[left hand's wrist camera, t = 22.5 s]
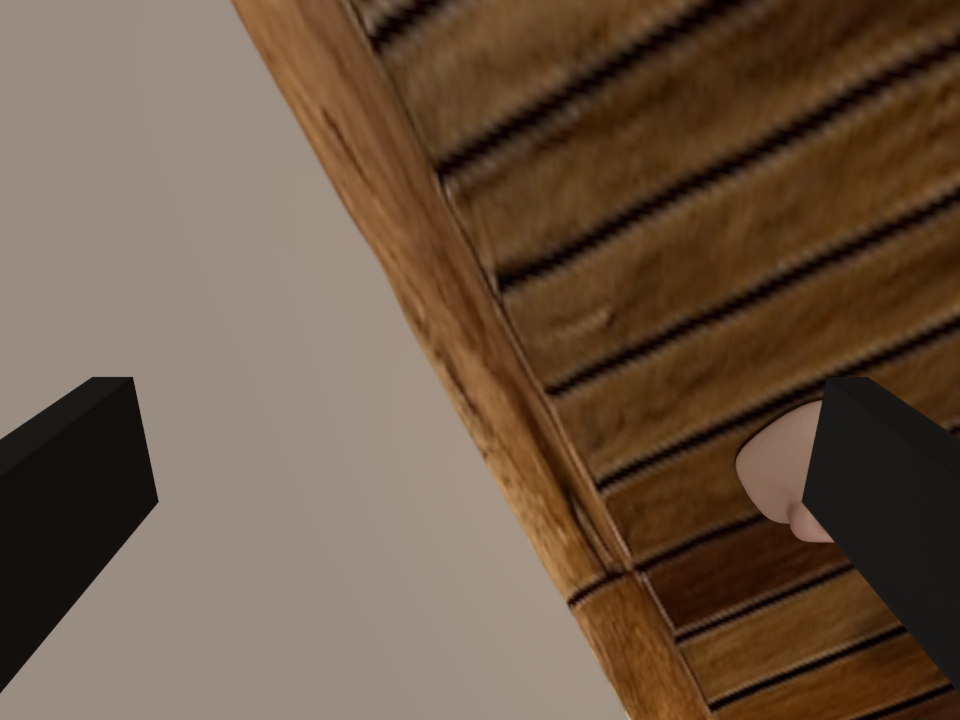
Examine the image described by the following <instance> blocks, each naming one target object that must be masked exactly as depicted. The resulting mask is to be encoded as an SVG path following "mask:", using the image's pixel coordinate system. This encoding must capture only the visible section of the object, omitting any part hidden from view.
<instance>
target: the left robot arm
mask: <svg viewBox="0 0 960 720" xmlns="http://www.w3.org/2000/svg"><path fill="white" fill-rule="evenodd" d="M158 502H159V501H158V497H157V492H156V487H155V482H154V477H153V472H152V467H151V463H150V458H149V453H148V448H147V443H146V438H145V433H144V429H143V424H142V419H141V414H140V409H139V404H138V400H137V395H136V390H135V385H134V380H133V377H92V378H90V379H89V380H87V381H86V382H84V383H83V384H81V385H80V386H78V387H77V388H75V389H74V390H73V391H71V392H70V393H68V394H67V395H65V396H64V397H62V398H61V399H59V400H58V401H56V402H55V403H53V404H52V405H51V406H49V407H48V408H46V409H45V410H43V411H42V412H40V413H39V414H37V415H36V416H34V417H33V418H31V419H30V420H28V421H27V422H26V423H24V424H23V425H21V426H20V427H18V428H17V429H15V430H14V431H12V432H11V433H9V434H8V435H6V436H5V437H3V438H2V439H1V440H0V693H1V692H2V691H3V689H4V688H5V687H6V686H7V685H8V683H9V682H10V681H11V680H12V679H13V677H14V676H15V675H16V674H17V673H18V671H19V670H20V669H21V668H22V666H23V665H24V664H25V663H26V662H27V660H28V659H29V658H30V657H31V656H32V654H33V653H34V652H35V651H36V650H37V648H38V647H39V646H40V645H41V644H42V642H43V641H44V640H45V639H46V637H47V636H48V635H49V634H50V633H51V631H52V630H53V629H54V628H55V627H56V625H57V624H58V623H59V622H60V621H61V619H62V618H63V617H64V616H65V615H66V613H67V612H68V611H69V610H70V608H71V607H72V606H73V605H74V604H75V602H76V601H77V600H78V599H79V598H80V596H81V595H82V594H83V593H84V592H85V590H86V589H87V588H88V587H89V585H90V584H91V583H92V582H93V581H94V579H95V578H96V577H97V576H98V575H99V573H100V572H101V571H102V570H103V569H104V567H105V566H106V565H107V564H108V563H109V561H110V560H111V559H112V558H113V556H114V555H115V554H116V553H117V552H118V550H119V549H120V548H121V547H122V546H123V544H124V543H125V542H126V541H127V539H128V538H129V537H130V536H131V535H132V533H133V532H134V531H135V530H136V529H137V527H138V526H139V525H140V524H141V523H142V521H143V520H144V519H145V518H146V517H147V515H148V514H149V513H150V512H151V510H152V509H153V508H154V507H155V506H156V505H157V503H158ZM801 502H802V503H803V505H804V506H805V507H806V508H807V509H808V511H809V512H810V513H811V514H812V515H813V517H814V518H815V519H816V520H817V521H818V523H819V524H820V525H821V526H822V527H823V529H824V530H825V531H826V532H827V534H828V535H829V536H830V537H831V538H832V540H833V541H834V542H835V543H836V544H837V546H838V547H839V548H840V549H841V550H842V552H843V553H844V554H845V555H846V556H847V558H848V559H849V560H850V561H851V563H852V564H853V565H854V566H855V567H856V569H857V570H858V571H859V572H860V573H861V575H862V576H863V577H864V578H865V579H866V581H867V582H868V583H869V584H870V585H871V587H872V588H873V589H874V590H875V592H876V593H877V594H878V595H879V596H880V598H881V599H882V600H883V601H884V602H885V604H886V605H887V606H888V607H889V608H890V610H891V611H892V612H893V613H894V615H895V616H896V617H897V618H898V619H899V621H900V622H901V623H902V624H903V625H904V627H905V628H906V629H907V630H908V631H909V633H910V634H911V635H912V636H913V637H914V639H915V640H916V641H917V642H918V644H919V645H920V646H921V647H922V648H923V650H924V651H925V652H926V653H927V654H928V656H929V657H930V658H931V659H932V660H933V662H934V663H935V664H936V665H937V666H938V668H939V669H940V670H941V671H942V673H943V674H944V675H945V676H946V677H947V679H948V680H949V681H950V682H951V683H952V685H953V686H954V687H955V688H956V689H957V691H958V692H959V693H960V439H958V438H957V437H955V436H954V435H952V434H951V433H949V432H948V431H946V430H945V429H943V428H942V427H940V426H939V425H937V424H936V423H935V422H933V421H932V420H930V419H929V418H927V417H926V416H924V415H923V414H921V413H920V412H918V411H917V410H915V409H914V408H912V407H911V406H910V405H908V404H907V403H905V402H904V401H902V400H901V399H899V398H898V397H896V396H895V395H893V394H892V393H890V392H889V391H887V390H886V389H885V388H883V387H882V386H880V385H879V384H877V383H876V382H874V381H873V380H871V379H870V378H868V377H827V380H826V385H825V390H824V395H823V399H822V404H821V409H820V414H819V419H818V424H817V429H816V433H815V438H814V443H813V448H812V453H811V458H810V463H809V467H808V472H807V477H806V482H805V487H804V492H803V497H802V501H801Z"/></svg>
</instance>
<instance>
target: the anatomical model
mask: <svg viewBox="0 0 960 720" xmlns="http://www.w3.org/2000/svg"><path fill="white" fill-rule="evenodd" d="M821 404H822V400H820V401H816V402H812V403H809V404H806V405H803V406H801V407H799V408H797V409H795V410H793V411H790V412H789V413H787V414H785V415H784V416H782V417H780V418H779V419H777V420H776V421H774V422H773V423H772V424H770V425H769V426H767V427H766V428H765V429H763V430H762V431H761V432H760V433H758V434H757V435H756V436H755V437H754V438H753V439H751V440H750V441H749V442H748V443H747V444H746V445H745V446H744V447H743V448H742V450H741V451H740V453H739V454H738V456H737V459H736V470H737V473H738V476H739V479H740V481H741V483H742V484H743V486H744V488H745V490H746V492H747V493H748V495H749V497H750V498H751V500H752V501H753V503H754V504H755V505H756V506H757V507H758V508H759V510H760V511H761V512H762V513H763V514H764V515H765V516H766V517H768V518H769V519H771V520H773V521H776V522H779V523H787V524H790V527H791V530H792V532H793V533H794V535H795V536H796V537H797V538H799V539H800V540H803V541H807V542H834V541H833V540H832V538H831V537H830V536H829V535H828V534H827V532H826V531H825V530H824V529H823V527H822V526H821V525H820V524H819V523H818V521H817V520H816V519H815V518H814V517H813V515H812V514H811V513H810V512H809V511H808V509H807V508H806V507H805V506H804V505H803V503H802V502H801V501H802V497H803V492H804V487H805V482H806V477H807V472H808V467H809V463H810V458H811V453H812V448H813V443H814V438H815V433H816V429H817V424H818V419H819V414H820V409H821Z"/></svg>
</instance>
